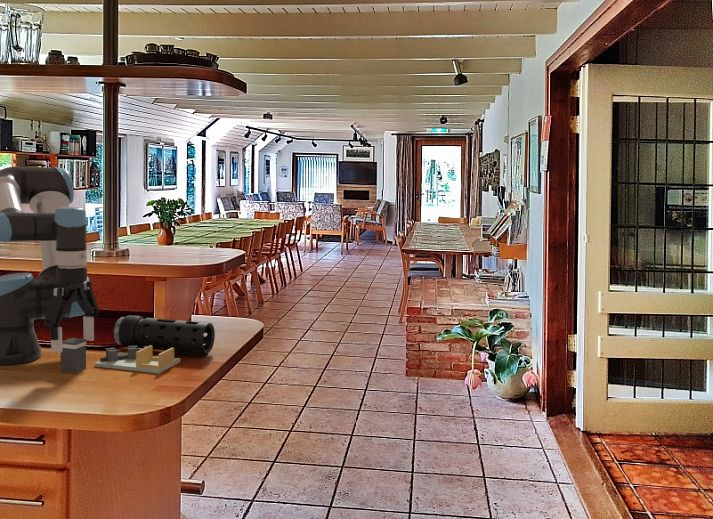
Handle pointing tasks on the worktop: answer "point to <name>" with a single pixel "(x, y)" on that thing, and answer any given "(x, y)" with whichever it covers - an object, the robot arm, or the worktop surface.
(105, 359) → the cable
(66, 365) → the plug
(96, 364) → the board
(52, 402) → the worktop surface
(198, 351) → the muzzle brake
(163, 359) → the end holder
